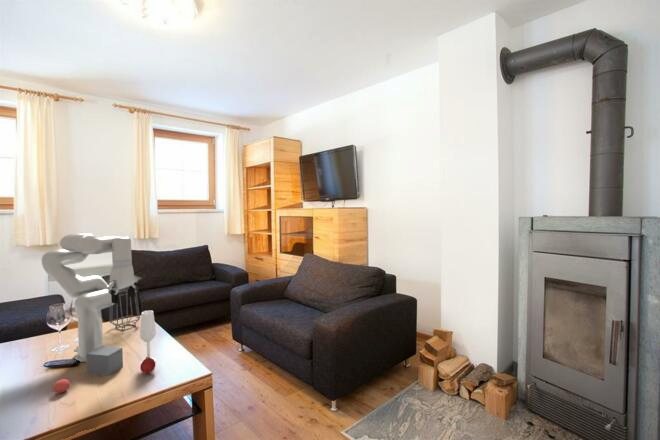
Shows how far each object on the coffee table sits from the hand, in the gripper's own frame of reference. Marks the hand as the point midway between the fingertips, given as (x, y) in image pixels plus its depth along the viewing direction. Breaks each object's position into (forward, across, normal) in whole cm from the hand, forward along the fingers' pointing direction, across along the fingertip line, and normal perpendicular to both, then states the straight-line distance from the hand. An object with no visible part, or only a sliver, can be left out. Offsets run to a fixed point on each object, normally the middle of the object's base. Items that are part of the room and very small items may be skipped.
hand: (123, 299), depth 148 cm
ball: (+28, +24, -7) cm, 38 cm away
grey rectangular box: (+30, +6, -5) cm, 31 cm away
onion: (+31, +7, +17) cm, 36 cm away
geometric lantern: (+30, -40, -36) cm, 62 cm away
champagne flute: (+31, -3, +10) cm, 32 cm away
